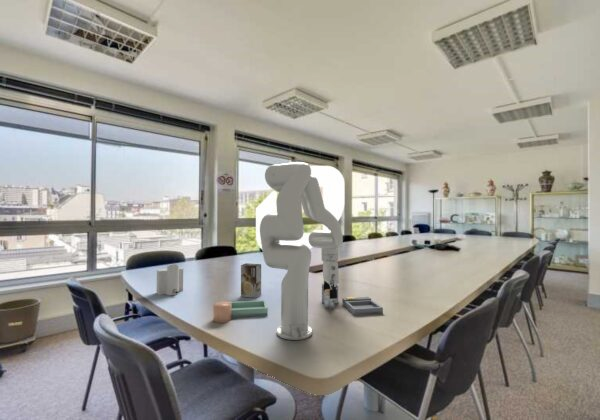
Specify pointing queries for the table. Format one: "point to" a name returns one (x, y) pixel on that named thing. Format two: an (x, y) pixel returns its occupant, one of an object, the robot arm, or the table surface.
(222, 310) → the peach rounded dome
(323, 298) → the medicine box
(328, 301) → the cell
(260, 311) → the green trapezoid tray
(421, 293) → the table surface
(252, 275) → the coffee box
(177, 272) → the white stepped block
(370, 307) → the cradle
